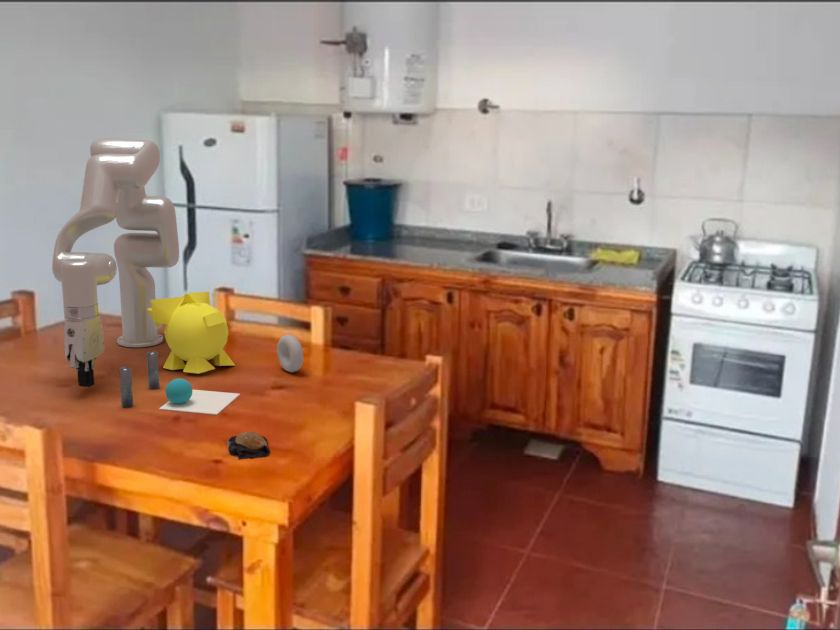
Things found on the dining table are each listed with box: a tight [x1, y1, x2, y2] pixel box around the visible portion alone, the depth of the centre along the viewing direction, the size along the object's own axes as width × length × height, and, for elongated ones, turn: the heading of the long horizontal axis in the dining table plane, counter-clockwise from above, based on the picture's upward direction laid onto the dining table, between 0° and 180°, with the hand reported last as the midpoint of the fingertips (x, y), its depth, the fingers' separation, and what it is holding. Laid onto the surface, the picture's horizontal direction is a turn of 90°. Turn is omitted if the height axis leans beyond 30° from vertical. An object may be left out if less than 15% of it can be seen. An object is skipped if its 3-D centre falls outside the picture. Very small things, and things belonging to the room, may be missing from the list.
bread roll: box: [226, 431, 271, 461], centre depth 176 cm, size 11×8×4 cm
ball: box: [165, 377, 193, 404], centre depth 200 cm, size 6×6×6 cm
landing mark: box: [158, 389, 241, 416], centre depth 202 cm, size 14×14×1 cm
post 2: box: [146, 350, 161, 390], centre depth 210 cm, size 3×3×9 cm
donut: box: [276, 334, 304, 373], centre depth 225 cm, size 10×4×10 cm, turn 40°
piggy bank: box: [147, 291, 236, 375], centre depth 226 cm, size 20×20×19 cm
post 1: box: [118, 366, 134, 409], centre depth 197 cm, size 3×3×9 cm
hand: (86, 385), depth 206 cm, fingers closed
